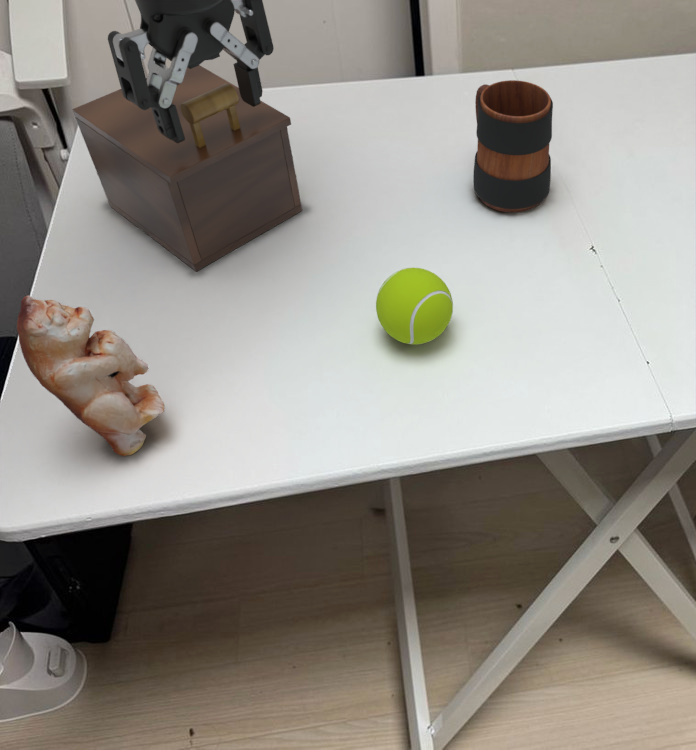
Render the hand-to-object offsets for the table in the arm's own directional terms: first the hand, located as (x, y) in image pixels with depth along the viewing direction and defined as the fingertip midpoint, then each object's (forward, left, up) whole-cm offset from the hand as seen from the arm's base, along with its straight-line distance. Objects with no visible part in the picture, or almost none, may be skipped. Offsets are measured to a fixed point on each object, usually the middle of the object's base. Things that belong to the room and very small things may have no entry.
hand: (214, 120), depth 78 cm
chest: (-4, +5, -14) cm, 15 cm away
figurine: (-7, -26, -14) cm, 31 cm away
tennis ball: (+18, -16, -14) cm, 28 cm away
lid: (-4, +5, -3) cm, 7 cm away
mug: (+29, +7, -14) cm, 32 cm away
